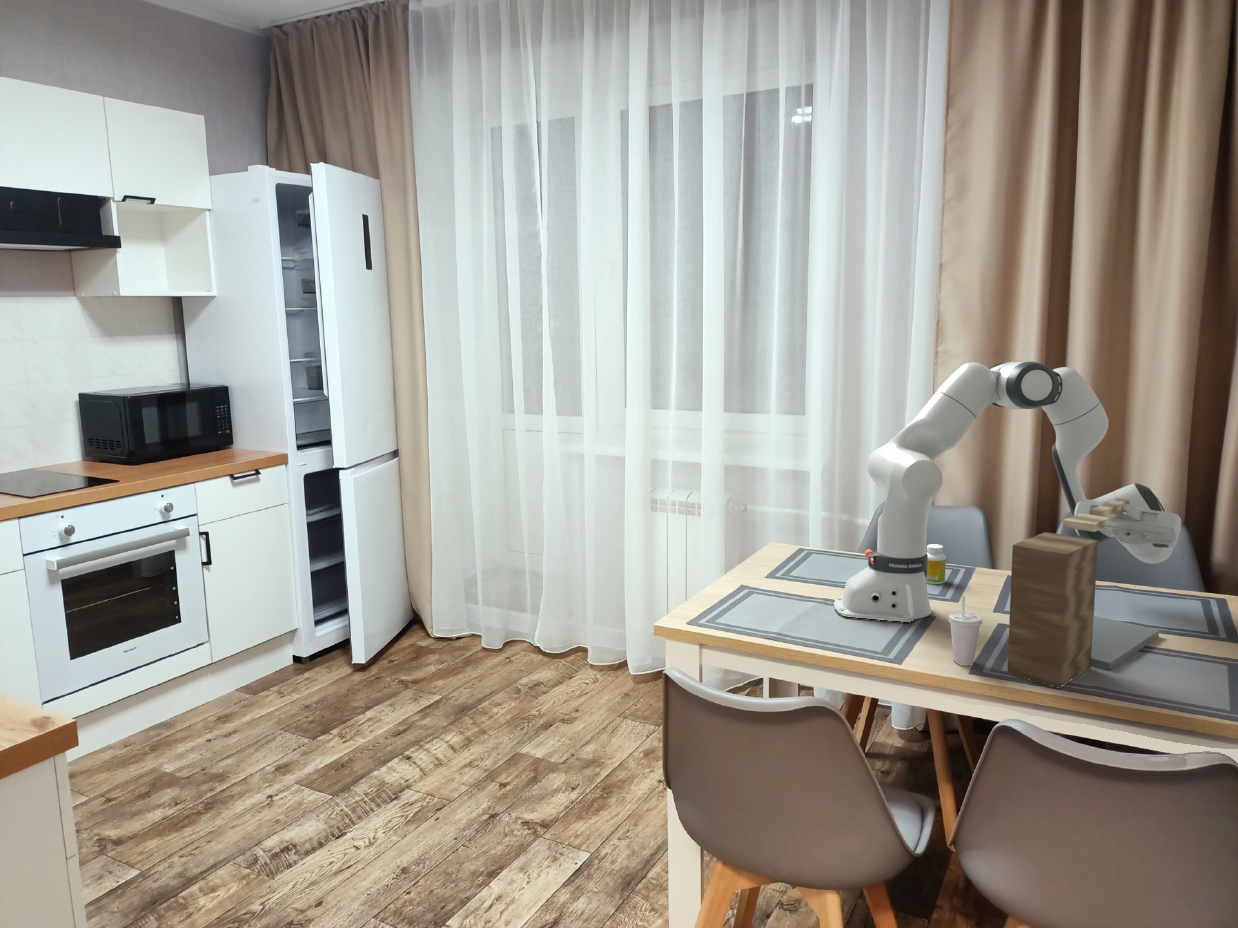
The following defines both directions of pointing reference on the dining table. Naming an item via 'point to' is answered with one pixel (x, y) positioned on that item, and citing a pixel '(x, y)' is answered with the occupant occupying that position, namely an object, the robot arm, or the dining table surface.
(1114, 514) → the stepped light wood bar
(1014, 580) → the walnut stand
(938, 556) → the supplement bottle
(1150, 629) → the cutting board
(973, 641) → the smoothie
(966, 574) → the dining table surface
